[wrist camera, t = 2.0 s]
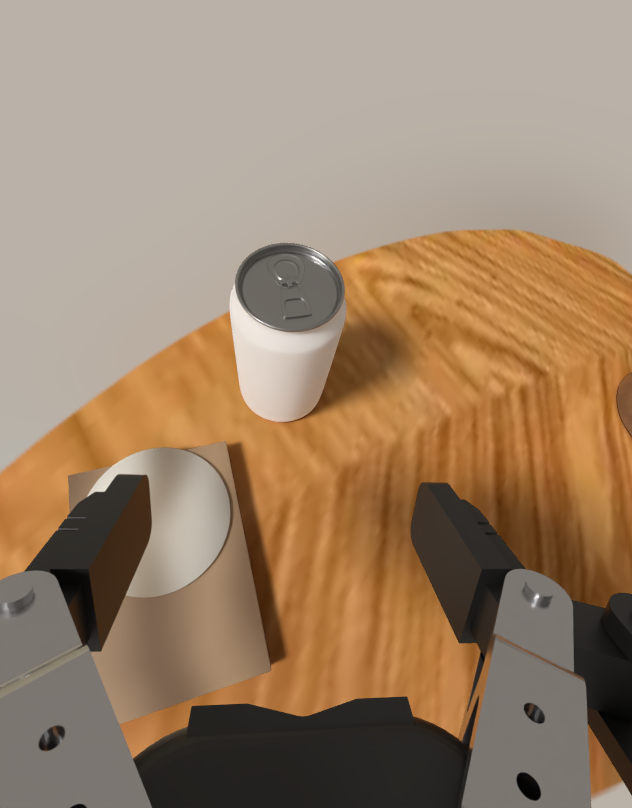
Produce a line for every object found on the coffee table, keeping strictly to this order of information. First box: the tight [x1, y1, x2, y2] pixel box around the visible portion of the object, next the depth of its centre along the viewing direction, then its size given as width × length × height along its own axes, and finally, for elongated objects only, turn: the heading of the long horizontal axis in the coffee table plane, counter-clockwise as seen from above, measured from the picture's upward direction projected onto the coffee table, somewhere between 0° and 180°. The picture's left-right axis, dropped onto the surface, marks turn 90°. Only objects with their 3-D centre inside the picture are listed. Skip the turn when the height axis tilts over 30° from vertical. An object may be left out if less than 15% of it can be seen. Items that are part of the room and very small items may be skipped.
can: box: [230, 243, 346, 422], centre depth 25 cm, size 6×6×12 cm
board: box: [68, 441, 271, 724], centre depth 24 cm, size 10×14×2 cm
